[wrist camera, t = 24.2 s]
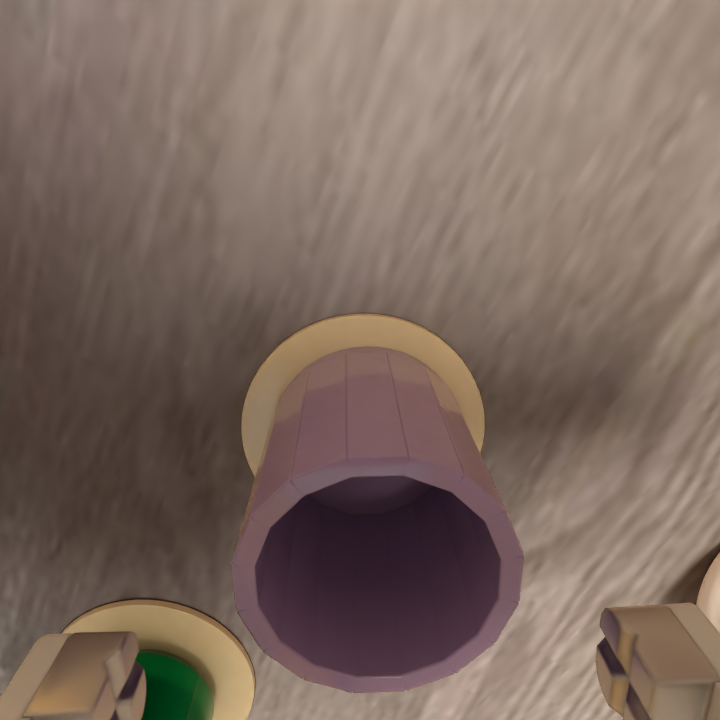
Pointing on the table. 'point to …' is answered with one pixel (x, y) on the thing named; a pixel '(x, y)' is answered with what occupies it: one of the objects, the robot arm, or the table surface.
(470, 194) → the table surface
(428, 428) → the purple tumbler
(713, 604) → the mug
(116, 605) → the coasters
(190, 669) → the soda can
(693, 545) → the table surface
